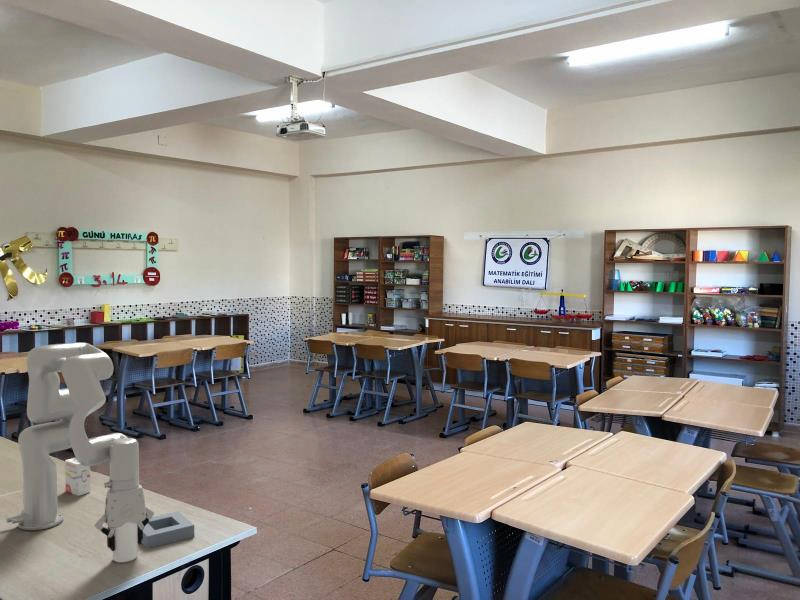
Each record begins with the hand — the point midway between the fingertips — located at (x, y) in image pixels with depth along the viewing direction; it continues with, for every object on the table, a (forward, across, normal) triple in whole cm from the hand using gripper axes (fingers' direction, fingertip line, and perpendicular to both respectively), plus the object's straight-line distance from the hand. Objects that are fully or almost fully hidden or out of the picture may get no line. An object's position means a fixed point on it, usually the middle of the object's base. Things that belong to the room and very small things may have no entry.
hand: (125, 545), depth 183 cm
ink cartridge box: (+4, +2, +66) cm, 66 cm away
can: (+4, 0, 0) cm, 4 cm away
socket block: (+4, +14, +10) cm, 18 cm away
